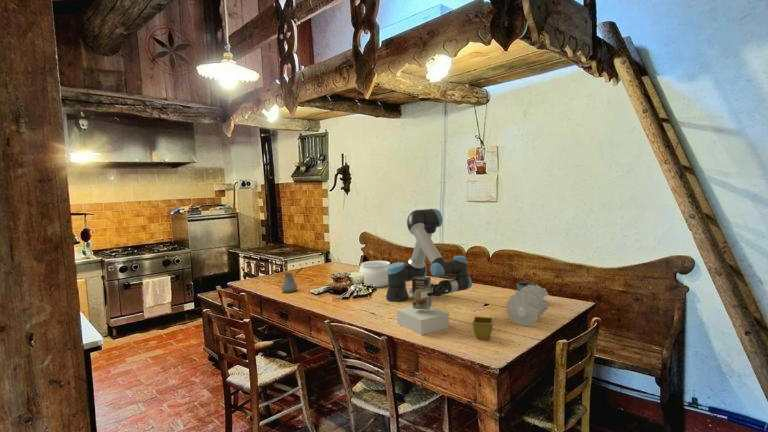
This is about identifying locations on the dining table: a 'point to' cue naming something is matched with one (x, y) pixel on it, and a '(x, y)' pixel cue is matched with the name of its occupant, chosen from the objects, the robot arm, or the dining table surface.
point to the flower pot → (482, 327)
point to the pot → (375, 272)
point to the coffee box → (417, 288)
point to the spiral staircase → (527, 305)
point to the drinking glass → (523, 285)
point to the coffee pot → (289, 282)
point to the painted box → (423, 319)
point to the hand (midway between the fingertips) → (415, 293)
